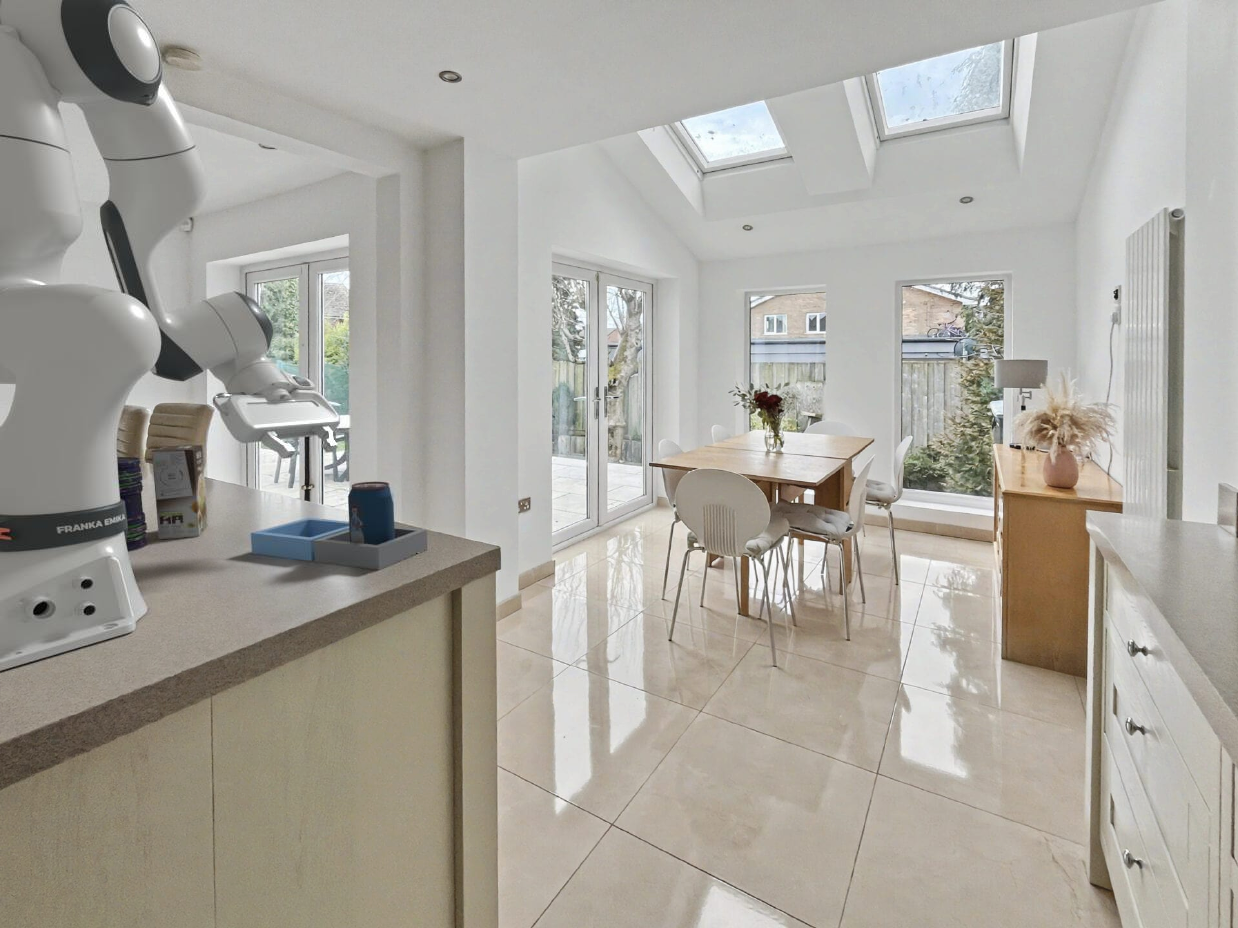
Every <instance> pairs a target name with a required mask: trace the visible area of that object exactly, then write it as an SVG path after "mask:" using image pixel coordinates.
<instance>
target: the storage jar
mask: <svg viewBox="0 0 1238 928" xmlns="http://www.w3.org/2000/svg"><path fill="white" fill-rule="evenodd" d="M117 464H118V480H119V492H120V499H122V500H123V501H125V508H126V515H127V525H128V532H127V540H126V545H127V550H128V553H130V552H133V551H137V550H140V549H143V548H144V547H146V546H148V540H147V535H148V533H147V530H148V525H147V522H146V514H145V512H144V511H143V509H144V507H143V498H142V497H143V496H142V491H143V490H144V489H143V488H144V485H143V482H142V481H143V473H141V472H142V469H141V466H140V464H141V459H140V457H130V456H129V457H128V456H117Z"/></svg>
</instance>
